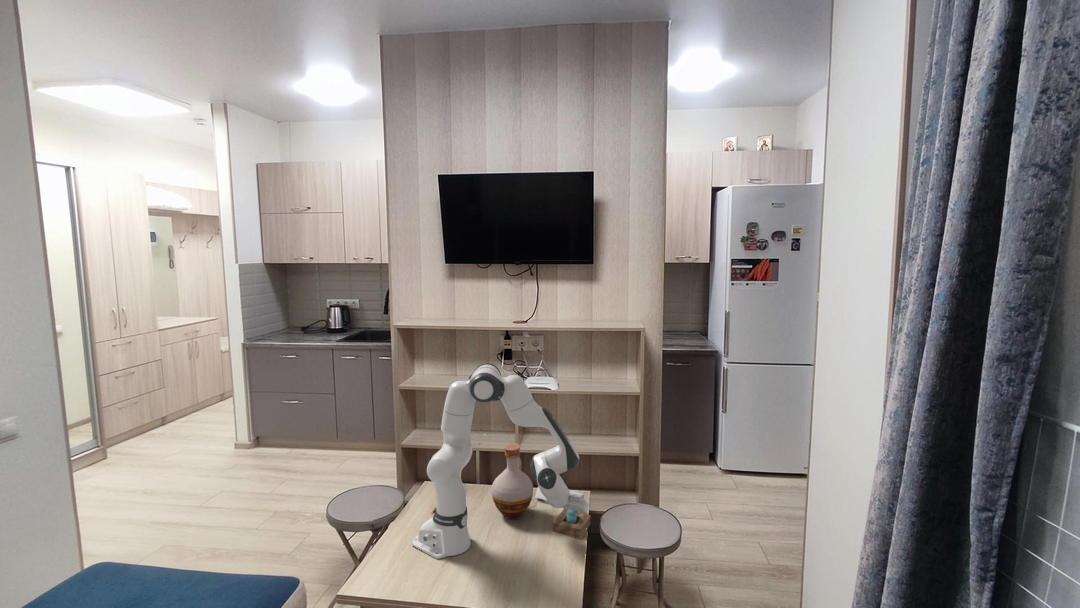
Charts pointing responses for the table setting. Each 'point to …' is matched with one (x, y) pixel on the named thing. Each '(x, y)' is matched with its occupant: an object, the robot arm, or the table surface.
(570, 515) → the peg
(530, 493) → the jug
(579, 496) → the medicine box
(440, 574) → the table surface
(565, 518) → the socket block
